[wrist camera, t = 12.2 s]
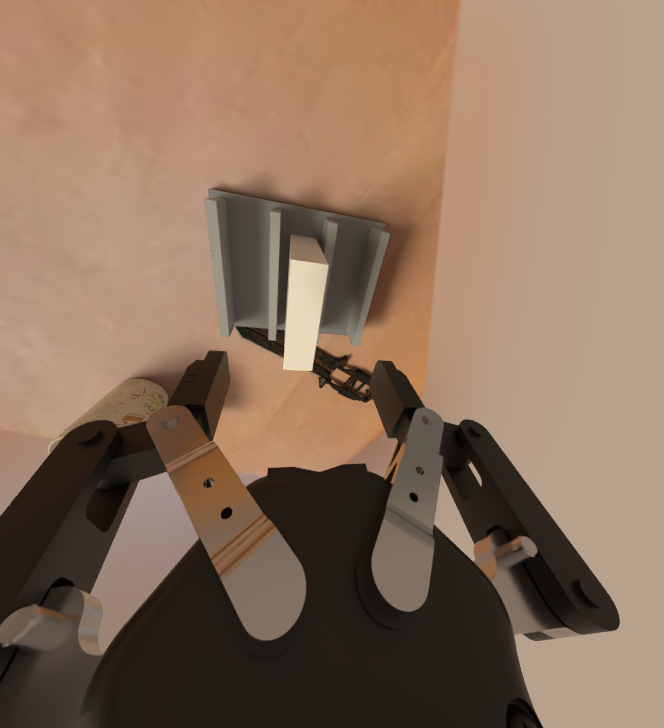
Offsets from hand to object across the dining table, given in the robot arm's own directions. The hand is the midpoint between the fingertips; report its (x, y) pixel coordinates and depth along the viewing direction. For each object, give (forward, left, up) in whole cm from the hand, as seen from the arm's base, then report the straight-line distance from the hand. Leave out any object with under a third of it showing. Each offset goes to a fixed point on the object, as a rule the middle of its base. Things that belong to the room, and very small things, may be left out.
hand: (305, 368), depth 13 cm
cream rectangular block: (0, 0, -16) cm, 16 cm away
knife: (+12, +3, -18) cm, 22 cm away
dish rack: (0, 0, -17) cm, 17 cm away
